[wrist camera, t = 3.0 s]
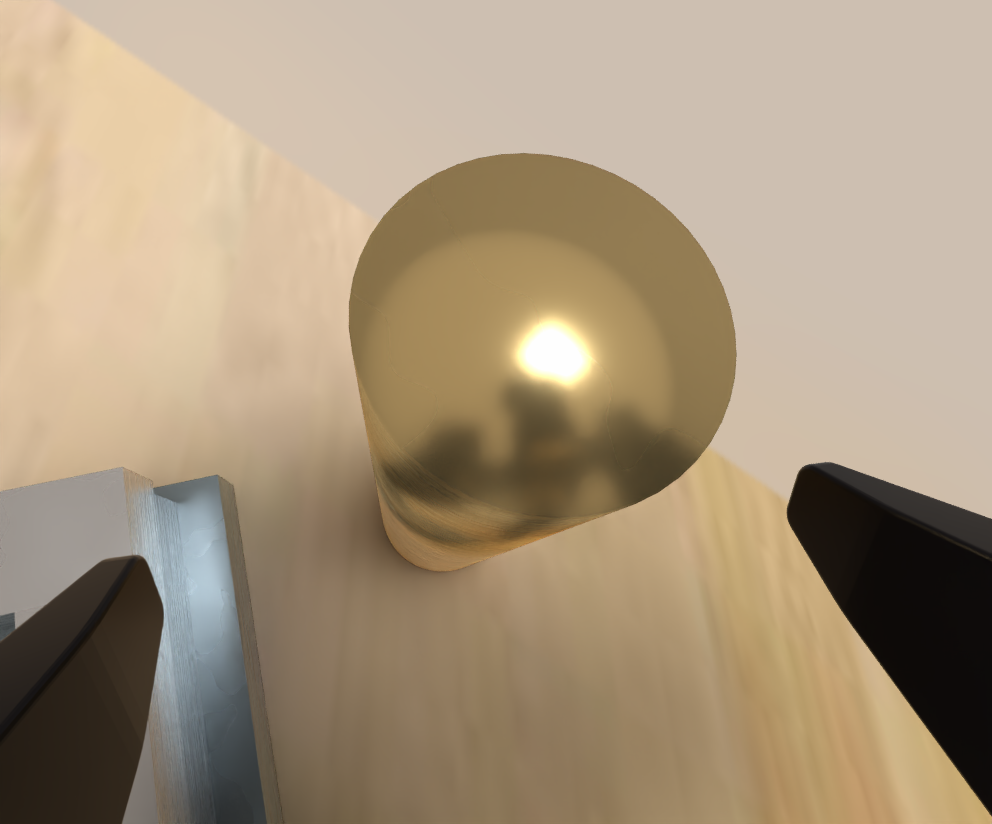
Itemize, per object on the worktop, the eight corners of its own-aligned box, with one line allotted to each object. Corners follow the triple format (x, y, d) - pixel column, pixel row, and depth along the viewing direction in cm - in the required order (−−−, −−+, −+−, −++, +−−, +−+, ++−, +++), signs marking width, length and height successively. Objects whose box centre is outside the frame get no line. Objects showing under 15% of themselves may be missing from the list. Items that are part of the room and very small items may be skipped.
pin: (516, 553, 17) (792, 464, 5) (396, 586, 16) (397, 567, 4) (486, 439, 18) (665, 136, 6) (371, 464, 17) (313, 173, 5)
